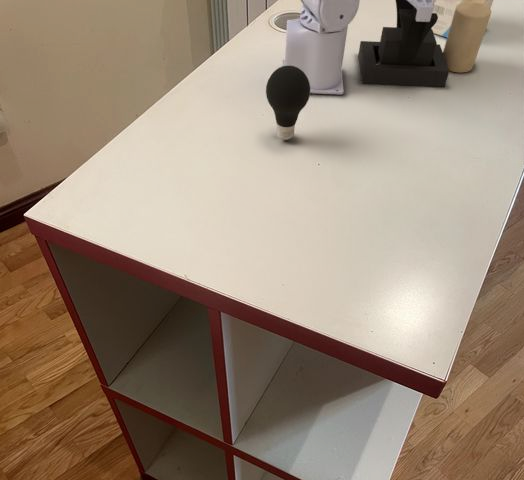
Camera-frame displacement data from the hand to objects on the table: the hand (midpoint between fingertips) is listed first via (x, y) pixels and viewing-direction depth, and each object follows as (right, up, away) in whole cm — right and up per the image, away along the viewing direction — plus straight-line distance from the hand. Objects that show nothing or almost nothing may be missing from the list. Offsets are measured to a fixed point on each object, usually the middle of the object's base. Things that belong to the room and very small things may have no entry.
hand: (404, 52), depth 84 cm
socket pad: (0, -2, +3) cm, 3 cm away
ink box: (+13, +11, +13) cm, 21 cm away
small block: (0, -1, +1) cm, 1 cm away
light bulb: (-20, -19, -10) cm, 29 cm away
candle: (+10, 0, +4) cm, 11 cm away
